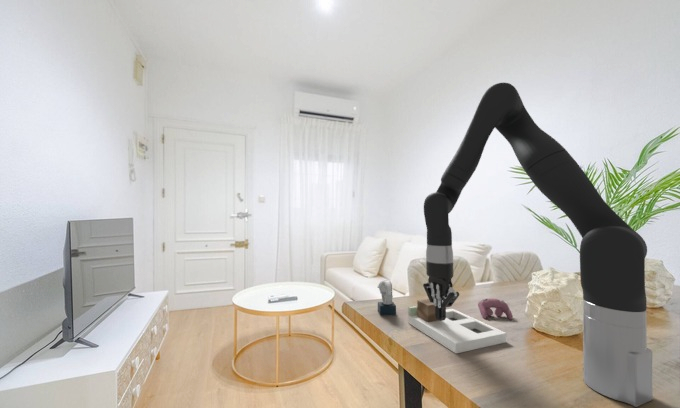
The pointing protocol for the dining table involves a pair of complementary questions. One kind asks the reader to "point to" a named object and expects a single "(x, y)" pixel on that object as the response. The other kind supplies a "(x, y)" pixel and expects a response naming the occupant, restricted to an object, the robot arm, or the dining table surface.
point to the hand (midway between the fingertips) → (440, 319)
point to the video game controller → (494, 303)
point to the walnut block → (426, 310)
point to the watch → (386, 299)
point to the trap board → (458, 331)
